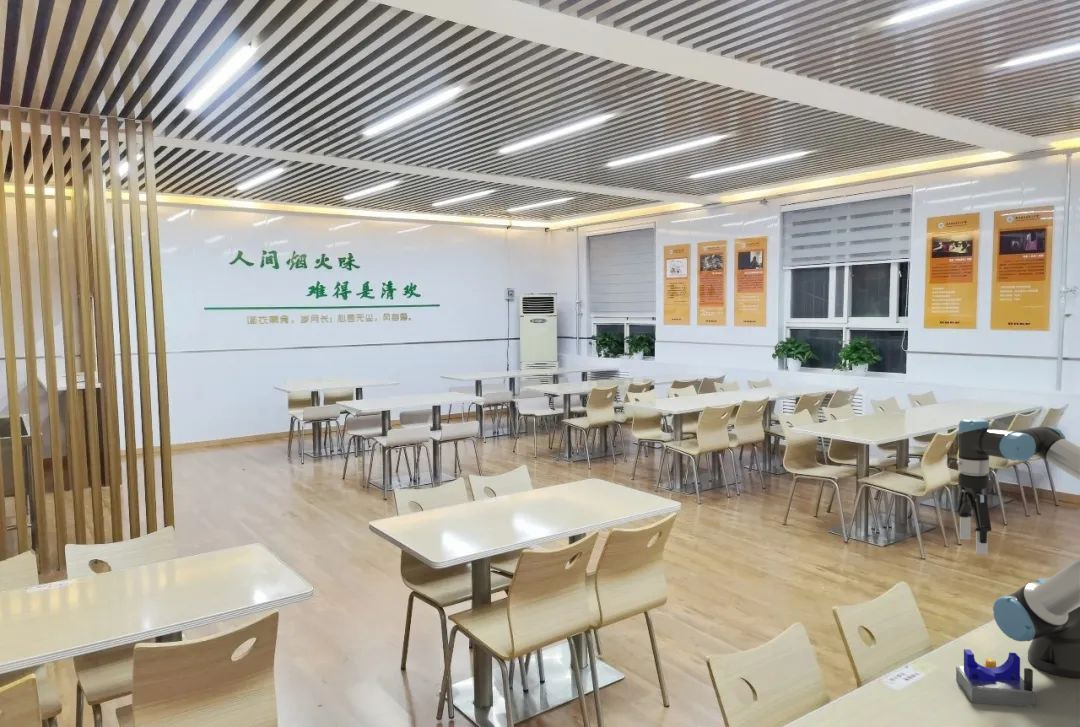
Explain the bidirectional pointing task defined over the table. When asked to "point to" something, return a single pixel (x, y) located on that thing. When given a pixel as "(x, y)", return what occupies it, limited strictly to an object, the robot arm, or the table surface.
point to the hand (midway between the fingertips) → (973, 546)
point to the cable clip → (992, 669)
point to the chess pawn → (990, 663)
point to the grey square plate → (999, 689)
